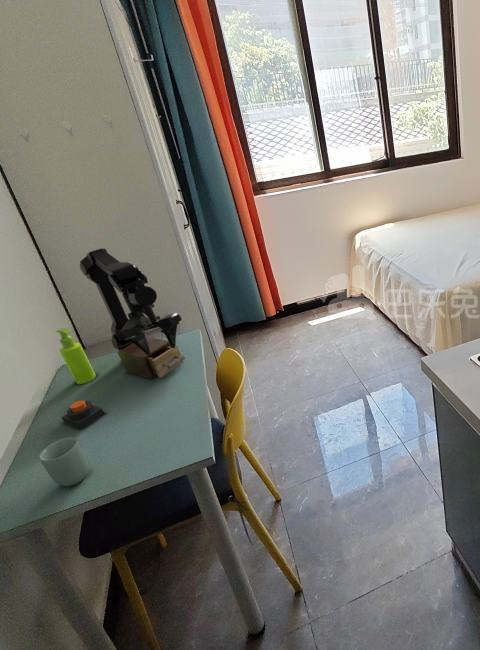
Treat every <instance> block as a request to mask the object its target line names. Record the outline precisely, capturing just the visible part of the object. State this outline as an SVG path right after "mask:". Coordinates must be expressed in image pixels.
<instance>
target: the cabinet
mask: <svg viewBox="0 0 480 650" xmlns="http://www.w3.org/2000/svg"><path fill="white" fill-rule="evenodd" d="M145 337H146V340H147V343H148V346H149V349H150V354H149V355H147V354H146V353H145V352H143V351H142V350H141V349H140V348H139V347H138V346H137V345H135V344H134V343H132V344H130V345H129V346H127V347H125V348H123V349H122V350H120V351H119V350H118V351H117V352H116V353H117V354H118V357H119V359H120V361H121V363H122V366H123V368H124V370H125V373H127V374H130V375H134V376H138V377H143V378H146V379H150V380H153V379H155V378H156V377H158V375H157V374H152V372H151V369H150V367H149V365H148V362H147V360H146V358H147V357H149V356H151V355H152V354H154V353H156V352H157V351H159V350H160V349H162V348H164V347H165V346H170V347H171V345H170V343H169V341H168V340H165V339H160V338H155V337H149V336H145ZM171 348H172V347H171Z"/></svg>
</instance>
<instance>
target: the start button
mask: <svg viewBox="0 0 480 650" xmlns="http://www.w3.org/2000/svg"><path fill="white" fill-rule="evenodd" d="M84 401H85V400H83V399H82V400H77V401H75V402H73V403H72V404H71V405H70V407H69V408H71V410H72V411H73V412H74V413H75V412H79V411H81V410H83V409H85V408H86V407H87V405H86V403H85V402H84Z"/></svg>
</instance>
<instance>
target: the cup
mask: <svg viewBox="0 0 480 650" xmlns="http://www.w3.org/2000/svg"><path fill="white" fill-rule="evenodd" d="M38 459H39V461H40V462H41V464H42V466H43V468H44V469H45V471H46V472H47V474H48V475H49V477H50V478H51V479H52V480H53V481H54V482H55V483H56V484H57V485H58V486H61V487H72V486H74V485H77V484H79V483H80V482H82V481H83V480H84V479H85V478H86V477H87V475H88V474H89V472H90V462H89V459H88V456H87V454H86V452H85V450H84V448H83V446H82V444H81V443H80V441H79V440H78V438H76V437H72V436H71V437H63V438H59V439H58V440H56V441H54V442H52V443H50V444H49V445H48V446H46V447H45V448H44V449H43V450H42V451H41V452H40V454H39V458H38Z"/></svg>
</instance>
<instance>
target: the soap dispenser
mask: <svg viewBox="0 0 480 650" xmlns="http://www.w3.org/2000/svg"><path fill="white" fill-rule="evenodd" d="M56 333H58V334H59V335H60V337H61V338H60V339H59V341H60V344H61V346H62V347H61V348H60V349H59V352H60V354H61V356H62V358H63V360H64V362H65V363H66V366H67V367H68V369H69V371H70V373H71V375H72V377H73V379H74V381H75V384H77V385H84V384H86V383H89V382H91V381H93V380H94V379H95V378H96V376H97V375H96V373H95V371H94V368H93V367H92V365H91V362H90V361H89V359H88V357H87V354H86V352H85V350H84V348H83V346H82V344H81V343H80V342H75V340H74V337H73V336H72V335H69V334H70V333H72V329H69V328H66V327H61V328H58V329H57V330H56Z"/></svg>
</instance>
